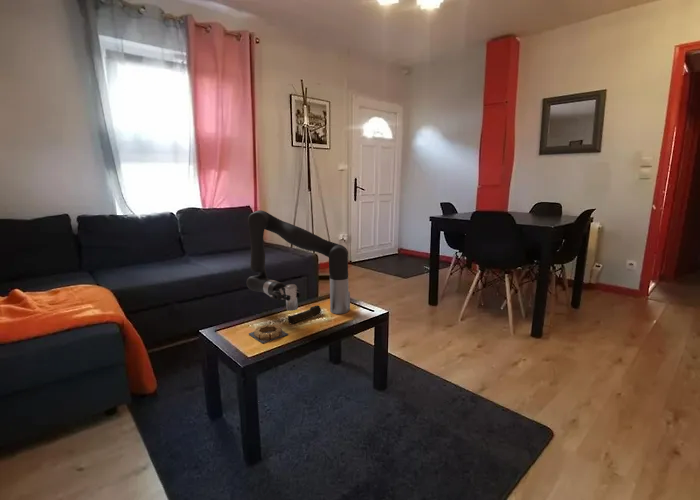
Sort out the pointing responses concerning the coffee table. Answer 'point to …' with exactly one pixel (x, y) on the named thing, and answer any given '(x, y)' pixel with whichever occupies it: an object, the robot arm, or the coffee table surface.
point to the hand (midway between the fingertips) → (294, 296)
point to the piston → (291, 297)
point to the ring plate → (268, 333)
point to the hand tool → (304, 314)
